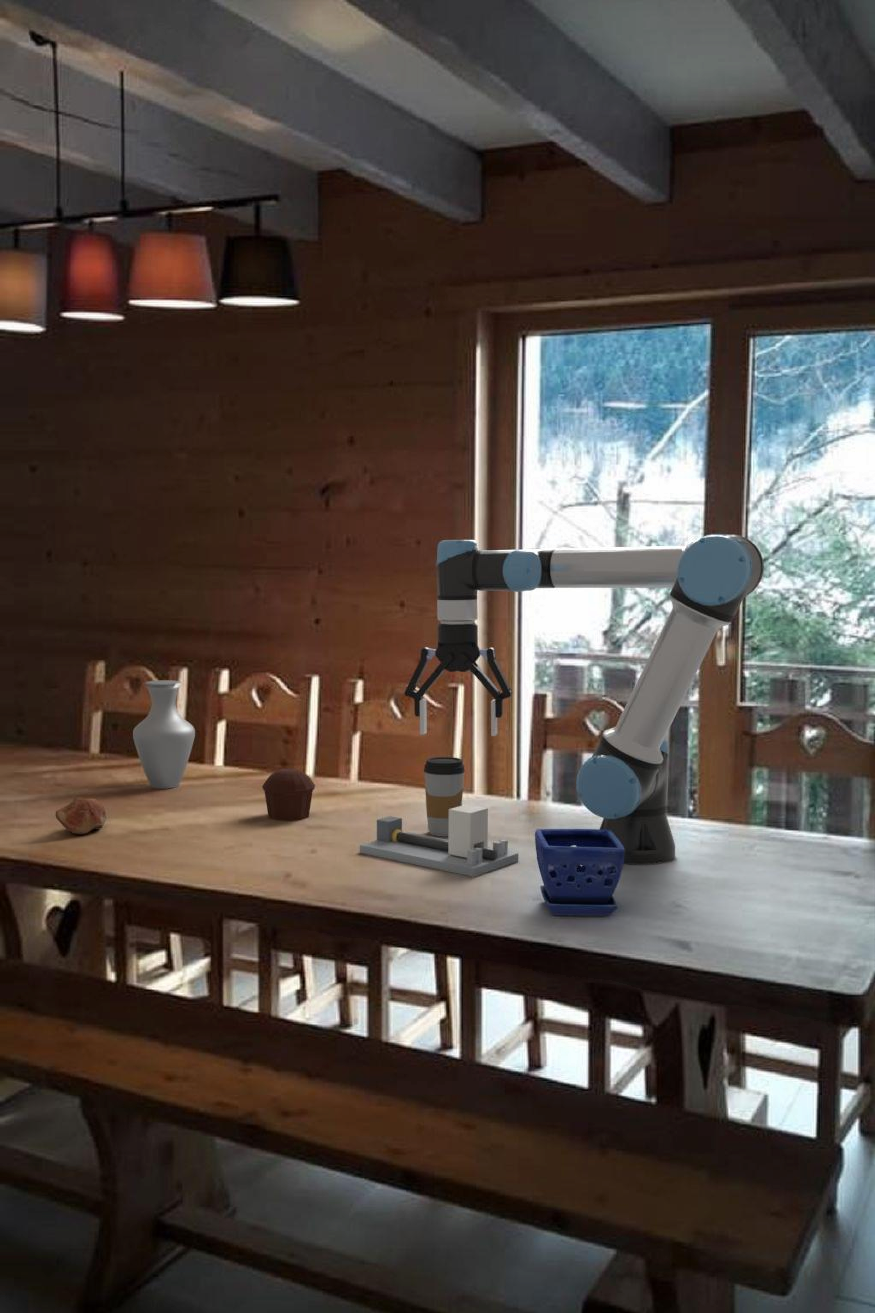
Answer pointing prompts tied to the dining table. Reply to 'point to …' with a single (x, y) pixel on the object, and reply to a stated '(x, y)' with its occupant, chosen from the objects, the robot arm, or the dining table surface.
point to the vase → (164, 737)
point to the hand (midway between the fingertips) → (458, 734)
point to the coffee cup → (442, 791)
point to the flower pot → (579, 870)
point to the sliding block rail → (434, 850)
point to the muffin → (288, 794)
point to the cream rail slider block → (467, 829)
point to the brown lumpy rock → (82, 815)
